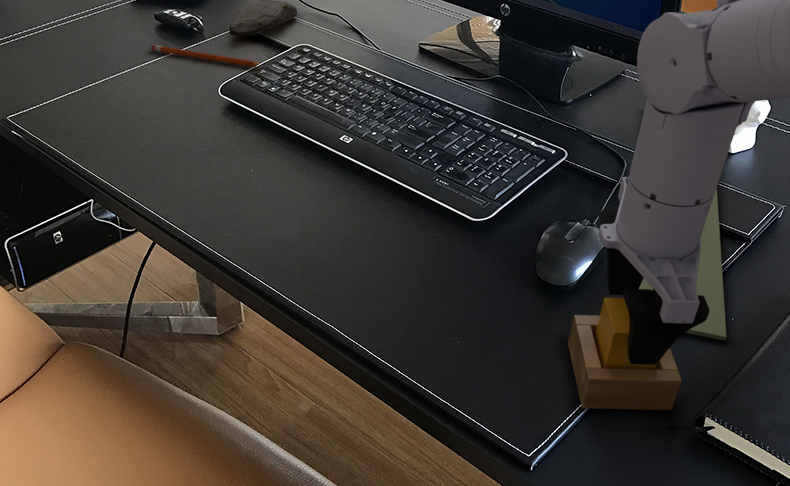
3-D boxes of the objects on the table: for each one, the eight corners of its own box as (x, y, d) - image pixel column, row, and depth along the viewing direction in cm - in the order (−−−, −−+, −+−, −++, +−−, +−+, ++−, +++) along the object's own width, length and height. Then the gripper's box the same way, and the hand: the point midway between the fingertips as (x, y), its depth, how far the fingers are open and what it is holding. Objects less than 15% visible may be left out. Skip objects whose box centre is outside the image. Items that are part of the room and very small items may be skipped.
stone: (289, 8, 125) (302, -10, 121) (302, 42, 124) (315, 25, 120) (213, 10, 118) (224, -10, 114) (226, 46, 117) (238, 28, 113)
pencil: (154, 48, 114) (153, 44, 113) (267, 67, 109) (266, 62, 109) (151, 50, 113) (150, 46, 113) (264, 69, 109) (264, 65, 108)
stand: (671, 410, 63) (682, 381, 61) (581, 408, 63) (589, 379, 61) (650, 345, 69) (659, 316, 66) (567, 343, 69) (573, 314, 66)
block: (647, 394, 64) (666, 333, 60) (598, 393, 64) (614, 332, 60) (636, 358, 67) (653, 298, 63) (589, 357, 67) (603, 297, 63)
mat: (725, 340, 69) (726, 336, 69) (632, 322, 71) (633, 318, 70) (711, 122, 99) (712, 119, 99) (646, 113, 101) (647, 109, 101)
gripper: (593, 127, 59) (566, 264, 68) (636, 248, 48) (597, 395, 56) (687, 129, 59) (648, 266, 68) (752, 250, 48) (696, 397, 56)
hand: (631, 325), depth 62 cm, fingers open, 7 cm apart
